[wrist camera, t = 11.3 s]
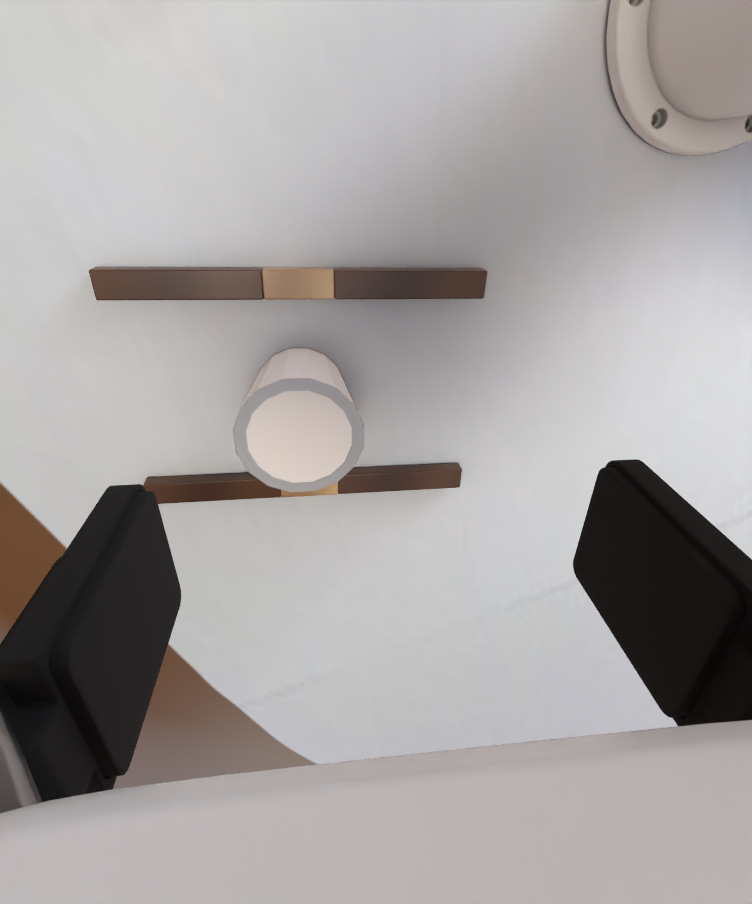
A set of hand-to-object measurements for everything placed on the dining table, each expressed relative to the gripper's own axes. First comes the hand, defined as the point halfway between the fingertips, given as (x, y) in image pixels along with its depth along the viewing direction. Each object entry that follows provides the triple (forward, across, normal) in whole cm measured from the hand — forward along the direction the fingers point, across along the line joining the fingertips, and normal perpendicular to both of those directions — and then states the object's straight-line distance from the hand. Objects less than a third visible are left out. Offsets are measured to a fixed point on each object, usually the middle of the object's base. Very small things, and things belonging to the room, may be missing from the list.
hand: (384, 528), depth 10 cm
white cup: (+22, +3, +6) cm, 23 cm away
